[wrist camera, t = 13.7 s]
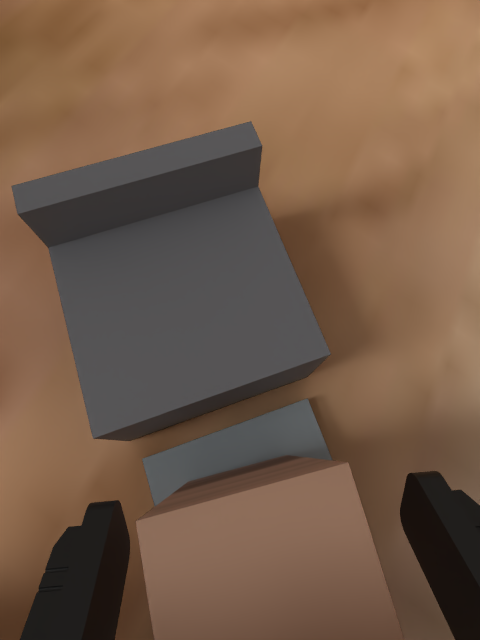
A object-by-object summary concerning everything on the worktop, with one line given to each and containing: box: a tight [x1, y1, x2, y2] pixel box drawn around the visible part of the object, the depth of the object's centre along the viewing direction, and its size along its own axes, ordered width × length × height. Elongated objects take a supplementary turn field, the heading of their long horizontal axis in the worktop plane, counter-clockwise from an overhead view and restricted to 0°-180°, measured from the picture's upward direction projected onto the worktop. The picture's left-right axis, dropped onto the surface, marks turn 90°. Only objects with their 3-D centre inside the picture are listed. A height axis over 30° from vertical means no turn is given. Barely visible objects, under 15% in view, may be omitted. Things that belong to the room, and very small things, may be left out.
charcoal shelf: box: [12, 121, 331, 441], centre depth 17 cm, size 9×9×7 cm
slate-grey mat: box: [142, 398, 333, 506], centre depth 17 cm, size 8×8×1 cm
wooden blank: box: [136, 455, 404, 640], centre depth 12 cm, size 4×4×10 cm
